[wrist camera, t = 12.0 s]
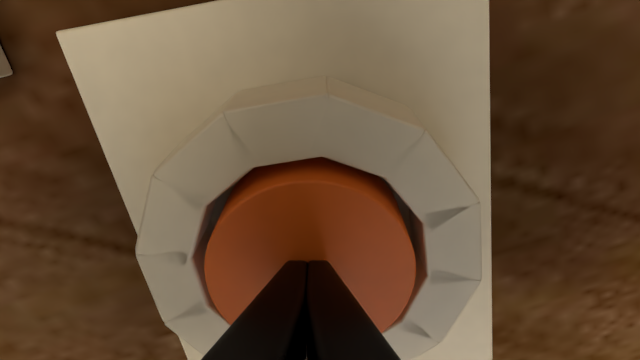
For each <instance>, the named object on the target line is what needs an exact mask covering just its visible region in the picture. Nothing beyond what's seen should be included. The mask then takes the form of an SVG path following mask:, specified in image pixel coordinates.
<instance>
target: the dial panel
mask: <svg viewBox="0 0 640 360" xmlns="http://www.w3.org/2000/svg"><path fill="white" fill-rule="evenodd" d="M12 74H13V71H12V69H11V67H10V65H9V63H8V60H7V58H6V56H5V54H4V52H3V50H2V47H1V45H0V78H2V77H6V76H9V75H12Z"/></svg>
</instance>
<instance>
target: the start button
mask: <svg viewBox="0 0 640 360" xmlns="http://www.w3.org/2000/svg"><path fill="white" fill-rule="evenodd" d="M289 260H304V261H307V263H308V262H309V261H311V260H326V261H328V262H329V263H330V264H331V266H332V267H333V268H334V270H335V271H336V272H337V274H338V275H339V276H340V278H341V279H342V280H343V282H344V283H345V285H346V286H347V287H348V289H349V290H350V291H351V293H352V294H353V295H354V297H355V298H356V299H357V301H358V302H359V304H360V305H361V306H362V308H363V309H364V310H365V312H366V313H367V314H368V316H369V317H370V318H371V320H372V321H373V323H374V324H375V325H376V327H377V328H378V329H379V331H380V332H381V333H383V332H384V331H385V330H386V329H387V328H388V327H390V326H391V325H392V324H393V323H394V321H395V320H396V319H397V318H398V317H399V316H400V314H401V313H402V311H403V310H404V308H405V307H406V305H407V303H408V301H409V299H410V297H411V294H412V291H413V287H414V284H415V277H416V259H415V253H414V249H413V246H412V243H411V240H410V237H409V234H408V232H407V229H406V226H405V223H404V221H403V218H402V215H401V212H400V210H399V207H398V204H397V201H396V199H395V197H394V196H393V194H392V192H391V190H390V189H389V188H388V186H387V185H386V183H385V182H384V181H383V180H382V179H381V178H380V177H379V176H377V175H374V174H371V173H368V172H366V171H363V170H360V169H357V168H354V167H351V166H348V165H345V164H342V163H339V162H337V161H334V160H331V159H328V158H325V157H316V158H310V159H304V160H298V161H291V162H285V163H279V164H273V165H267V166H260V167H254V168H253V169H252V170H251V171H249V172H248V173H247V174H246V175H244V176H243V177H242V178H241V179H240V181H239V182H238V183H237V184H236V186H235V187H234V188H233V190H232V192H231V193H230V195H229V197H228V199H227V201H226V203H225V205H224V208H223V210H222V212H221V214H220V217H219V219H218V221H217V223H216V225H215V228H214V230H213V232H212V234H211V237H210V240H209V242H208V245H207V249H206V253H205V262H204V272H205V280H206V284H207V288H208V291H209V294H210V296H211V299H212V301H213V303H214V304H215V306H216V308H217V309H218V311H219V312H220V314H221V315H222V316H223V317H224V319H225V320H226V321H227V322H228V323H229V324H230V325H232V323H233V322H234V321H235V320H236V319H237V318H238V317H239V315H240V314H241V313H242V312H243V311H244V310H245V309H246V307H247V306H248V305H249V304H250V303H251V302H252V301H253V299H254V298H255V297H256V296H257V295H258V294H259V293H260V291H261V290H262V289H263V288H264V287H265V286H266V285H267V283H268V282H269V281H270V280H271V279H272V278H273V277H274V275H275V274H276V273H277V272H278V271H279V270H280V269H281V267H282V266H283V265H284V264H285V263H286V262H287V261H289Z"/></svg>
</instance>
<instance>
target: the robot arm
mask: <svg viewBox="0 0 640 360" xmlns="http://www.w3.org/2000/svg"><path fill="white" fill-rule="evenodd" d="M201 360H401V359H400V358H399V356H398V355H397V354H396V352H395V351H394V350H393V348H392V347H391V346H390V344H389V343H388V342H387V340H386V339H385V337H384V336H383V335H382V333H381V332H380V331H379V329H378V328H377V327H376V325H375V324H374V323H373V321H372V320H371V318H370V317H369V316H368V314H367V313H366V312H365V310H364V309H363V308H362V306H361V305H360V304H359V302H358V301H357V299H356V298H355V297H354V295H353V294H352V293H351V291H350V290H349V289H348V287H347V286H346V285H345V283H344V282H343V280H342V279H341V278H340V276H339V275H338V274H337V272H336V271H335V270H334V268H333V267H332V266H331V264H330V263H329V262H328V261H326V260H311V261H309V262H308V263H307V261H304V260H289V261H287V262H286V263H285V264H284V265H283V266H282V267H281V269H280V270H279V271H278V272H277V273H276V274H275V275H274V277H273V278H272V279H271V280H270V281H269V282H268V283H267V285H266V286H265V287H264V288H263V289H262V290H261V291H260V293H259V294H258V295H257V296H256V297H255V298H254V299H253V301H252V302H251V303H250V304H249V305H248V306H247V307H246V309H245V310H244V311H243V312H242V313H241V314H240V315H239V317H238V318H237V319H236V320H235V321H234V322H233V323H232V325H231V326H230V327H229V328H228V329H227V330H226V331H225V333H224V334H223V335H222V336H221V337H220V338H219V339H218V341H217V342H216V343H215V344H214V345H213V346H212V347H211V349H210V350H209V351H208V352H207V353H206V354H205V355H204V357H203V358H202V359H201Z"/></svg>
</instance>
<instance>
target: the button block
mask: <svg viewBox="0 0 640 360" xmlns="http://www.w3.org/2000/svg"><path fill="white" fill-rule="evenodd" d="M56 35H57V38H58V40H59V43H60V45H61V48H62V50H63V53H64V55H65V58H66V60H67V63H68V65H69V67H70V70H71V72H72V75H73V77H74V80H75V82H76V85H77V87H78V90H79V92H80V95H81V97H82V100H83V102H84V104H85V107H86V109H87V112H88V114H89V117H90V119H91V122H92V124H93V127H94V129H95V132H96V134H97V137H98V139H99V142H100V144H101V146H102V149H103V151H104V154H105V156H106V159H107V161H108V164H109V166H110V169H111V171H112V174H113V176H114V179H115V181H116V183H117V186H118V188H119V191H120V193H121V196H122V198H123V201H124V203H125V206H126V208H127V211H128V213H129V216H130V218H131V220H132V223H133V225H134V228H135V230H136V233H137V235H138V238H137V242H136V247H135V252H136V258H137V260H138V263H139V265H140V268H141V270H142V272H143V275H144V277H145V280H146V282H147V284H148V287H149V289H150V292H151V294H152V296H153V299H154V301H155V304H156V306H157V308H158V311H159V313H160V316H161V318H162V320H163V321H164V324H165V325H166V326H167V327H168V328H169V329H171V330H172V331H173V332H175V333H176V334H177V335H178V336H179V339H180V341H181V344H182V346H183V349H184V351H185V354H186V356H187V359H188V360H201V359H202V358H203V357H204V355H205V354H206V353H207V352H208V351H209V350H210V349H211V347H212V346H213V345H214V344H215V343H216V342H217V341H218V339H219V338H220V337H221V336H222V335H223V334H224V333H225V331H226V330H227V329H228V328H229V327H230V326H231V325H230V324H229V323H228V322H227V321H226V320H225V319H224V317H223V316H222V315H221V314H220V312H219V311H218V309H217V308H216V306H215V304H214V303H213V301H212V299H211V296H210V294H209V291H208V288H207V284H206V280H205V272H204V262H205V253H206V249H207V245H208V242H209V240H210V237H211V234H212V232H213V230H214V228H215V225H216V223H217V221H218V219H219V217H220V214H221V212H222V210H223V208H224V205H225V203H226V201H227V199H228V197H229V195H230V193H231V192H232V190H233V188H234V187H235V186H236V184H237V183H238V182H239V181H240V179H241V178H242V177H243V176H244V175H246V174H247V173H248V172H249V171H251V170H252V169H253V168H254V167H260V166H267V165H273V164H279V163H285V162H291V161H298V160H304V159H310V158H316V157H325V158H328V159H331V160H334V161H337V162H339V163H342V164H345V165H348V166H351V167H354V168H357V169H360V170H363V171H366V172H368V173H371V174H374V175H377V176H379V177H380V178H381V179H382V180H383V181H384V182H385V183H386V185H387V186H388V188H389V189H390V190H391V192H392V194H393V196H394V197H395V199H396V201H397V204H398V207H399V210H400V212H401V215H402V218H403V221H404V223H405V226H406V229H407V232H408V234H409V237H410V240H411V243H412V246H413V249H414V253H415V259H416V277H415V284H414V287H413V291H412V294H411V297H410V299H409V301H408V303H407V305H406V307H405V308H404V310H403V311H402V313H401V314H400V316H399V317H398V318H397V319H396V320H395V321H394V323H393V324H392V325H391V326H390V327H388V328H387V329H386V330H385V331H384V332H383V333H382V335H383V336H384V337H385V339H386V340H387V342H388V343H389V344H390V346H391V347H392V348H393V350H394V351H395V352H396V354H397V355H398V356H399V358H400V359H401V360H492V262H491V156H490V51H489V0H217V1H212V2H207V3H201V4H196V5H191V6H186V7H180V8H175V9H170V10H165V11H160V12H154V13H149V14H144V15H139V16H133V17H128V18H123V19H118V20H112V21H107V22H102V23H97V24H92V25H86V26H81V27H76V28H71V29H65V30H60V31H57V32H56Z"/></svg>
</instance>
